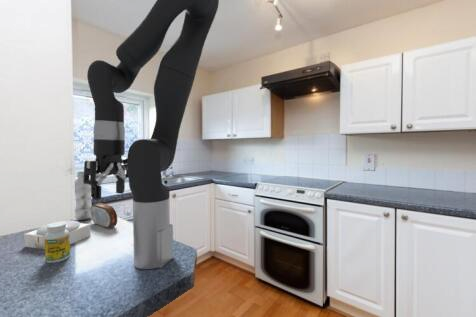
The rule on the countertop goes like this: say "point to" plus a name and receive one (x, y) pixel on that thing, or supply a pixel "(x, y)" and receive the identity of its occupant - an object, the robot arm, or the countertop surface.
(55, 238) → the supplement bottle
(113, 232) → the countertop surface
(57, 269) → the countertop surface
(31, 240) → the kitchen scale
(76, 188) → the plastic bottle
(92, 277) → the countertop surface
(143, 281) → the countertop surface
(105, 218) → the tin
